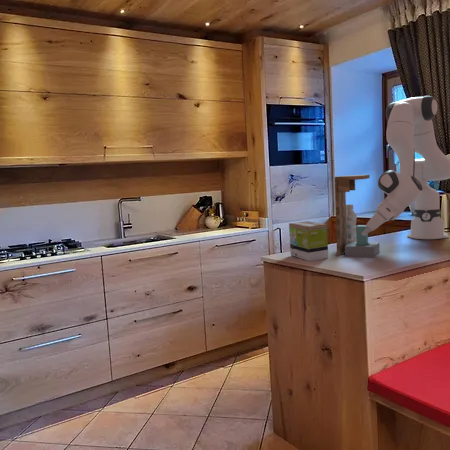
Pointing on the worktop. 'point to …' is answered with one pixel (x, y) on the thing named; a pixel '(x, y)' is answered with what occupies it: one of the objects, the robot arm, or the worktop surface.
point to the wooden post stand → (343, 207)
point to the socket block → (362, 249)
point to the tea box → (308, 240)
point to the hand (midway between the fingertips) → (365, 233)
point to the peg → (360, 238)
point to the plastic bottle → (351, 224)
